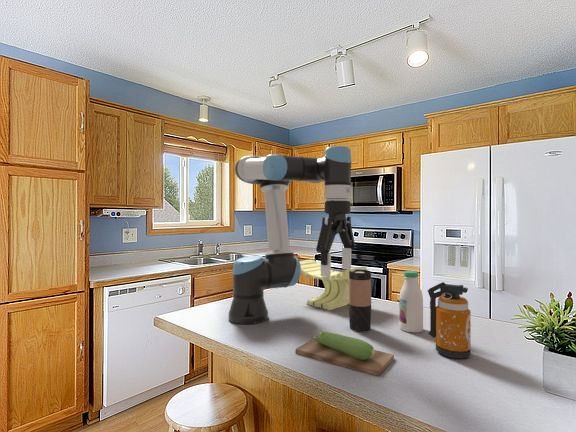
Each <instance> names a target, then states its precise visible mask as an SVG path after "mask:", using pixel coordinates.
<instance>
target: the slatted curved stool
mask: <svg viewBox="0 0 576 432" xmlns="http://www.w3.org/2000/svg"><path fill="white" fill-rule="evenodd" d="M299 262H300V265H301V274H302V275H305V277H306V278H309V279H310V278H312V279H313V278H314V279H317V280H321V281H322V283H323V286H324V291H323V293H322V294H320V295H319V296H317V297H315V298H312V299H309V300H307V301H306V305H307V304H309V305H308V306H311V305H312V306H313V305H314V307H315V306H317V307H316V308H319V307H320V309H323V308H324V309H323V310H326V309H327V310H326V311H333V310H335V309H337V308H341V307H344V306H346V305H349V271H355V270H368V268H367V267H366V266H359V267H353V268H351V270H347V269H344V271H342V272H340V271H335V270H333V269H331V277H324V276H321V263H319V262H318V261H316V260H315V259H305V260H299Z"/></svg>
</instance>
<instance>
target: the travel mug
mask: <svg viewBox="0 0 576 432" xmlns="http://www.w3.org/2000/svg"><path fill="white" fill-rule="evenodd" d="M348 319H349V321H348V322H349V329H350V330H352V331H354V332H359V333H367V332H369V331H371V328H372V327H371V325H372V324H371V323H372V321H371V320H372V272H371V270H368V269H367V270H355V271H349V303H348Z"/></svg>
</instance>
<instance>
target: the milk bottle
mask: <svg viewBox="0 0 576 432" xmlns="http://www.w3.org/2000/svg"><path fill="white" fill-rule="evenodd" d="M403 276H404V277H403V278H404V281H403V284H402V287H401V288H400V292H399V303H398V304H399V312H398V314H399V315H398V317H399V319H398V321H399V328H400V329H401V331H403V332H406V333H407V332H408V333H422V332H423V331H424V296H423V292H422V290H421V287H420V285H419V281H418V279H419V272H418V271H415V270H405V271H404V272H403Z"/></svg>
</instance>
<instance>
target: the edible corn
mask: <svg viewBox="0 0 576 432" xmlns="http://www.w3.org/2000/svg"><path fill="white" fill-rule="evenodd" d="M317 331H318V332H319V334H318V337H321V338H314V337H315V336H314V337H311V339H313V340H314V341H316V342H317V343H319V344H322V345H325V346H328V347H330V348H332V349H335V350H337V351H339V352H342V353H344V354H347V355H349V356H351V357H354V358H357V359H360V360H366V359H368V358H369V357H370V356H371V355H374V350H375V349H374V347H373V345H372V344H370V343H369V342H367V341H365V340H363V339H359V338H357V337H356V338H355V337H351V336H347V335H342V334H338V333H334V332H330V331H326V330H322V329H317Z"/></svg>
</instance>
